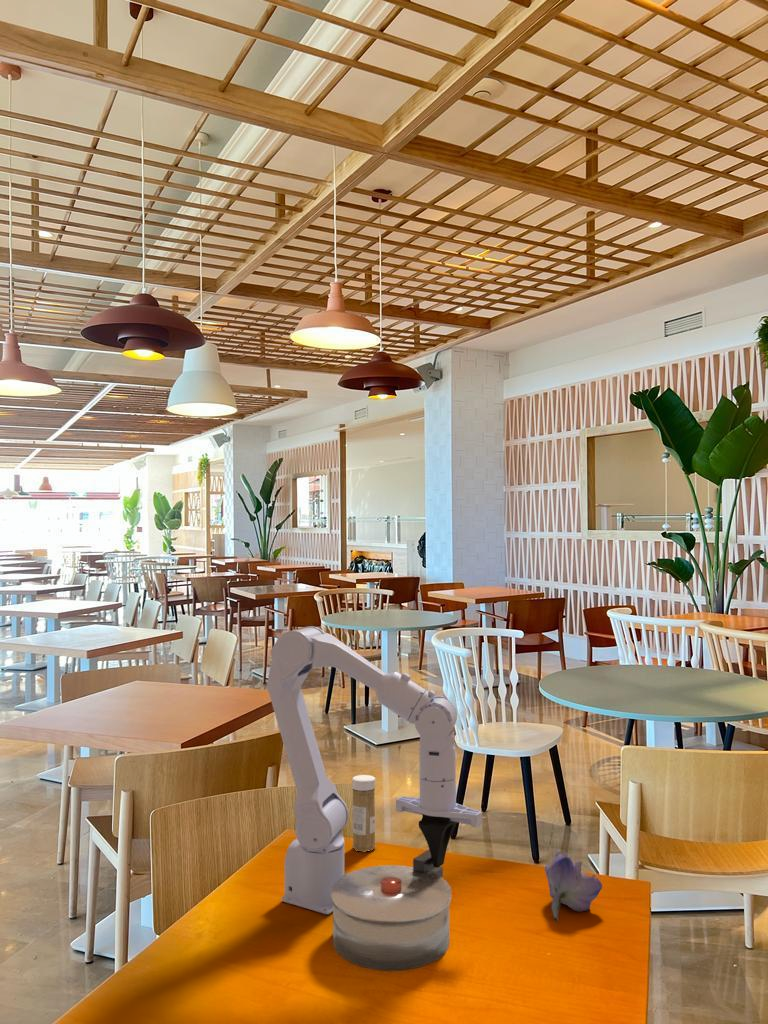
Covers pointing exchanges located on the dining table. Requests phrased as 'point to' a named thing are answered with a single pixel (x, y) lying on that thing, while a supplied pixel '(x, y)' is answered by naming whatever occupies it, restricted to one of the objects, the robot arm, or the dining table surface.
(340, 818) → the robot arm
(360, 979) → the dining table surface
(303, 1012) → the dining table surface
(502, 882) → the dining table surface
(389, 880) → the cooker lid
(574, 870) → the flower
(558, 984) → the dining table surface
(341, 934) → the cooker pot
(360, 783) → the sprinkles bottle
